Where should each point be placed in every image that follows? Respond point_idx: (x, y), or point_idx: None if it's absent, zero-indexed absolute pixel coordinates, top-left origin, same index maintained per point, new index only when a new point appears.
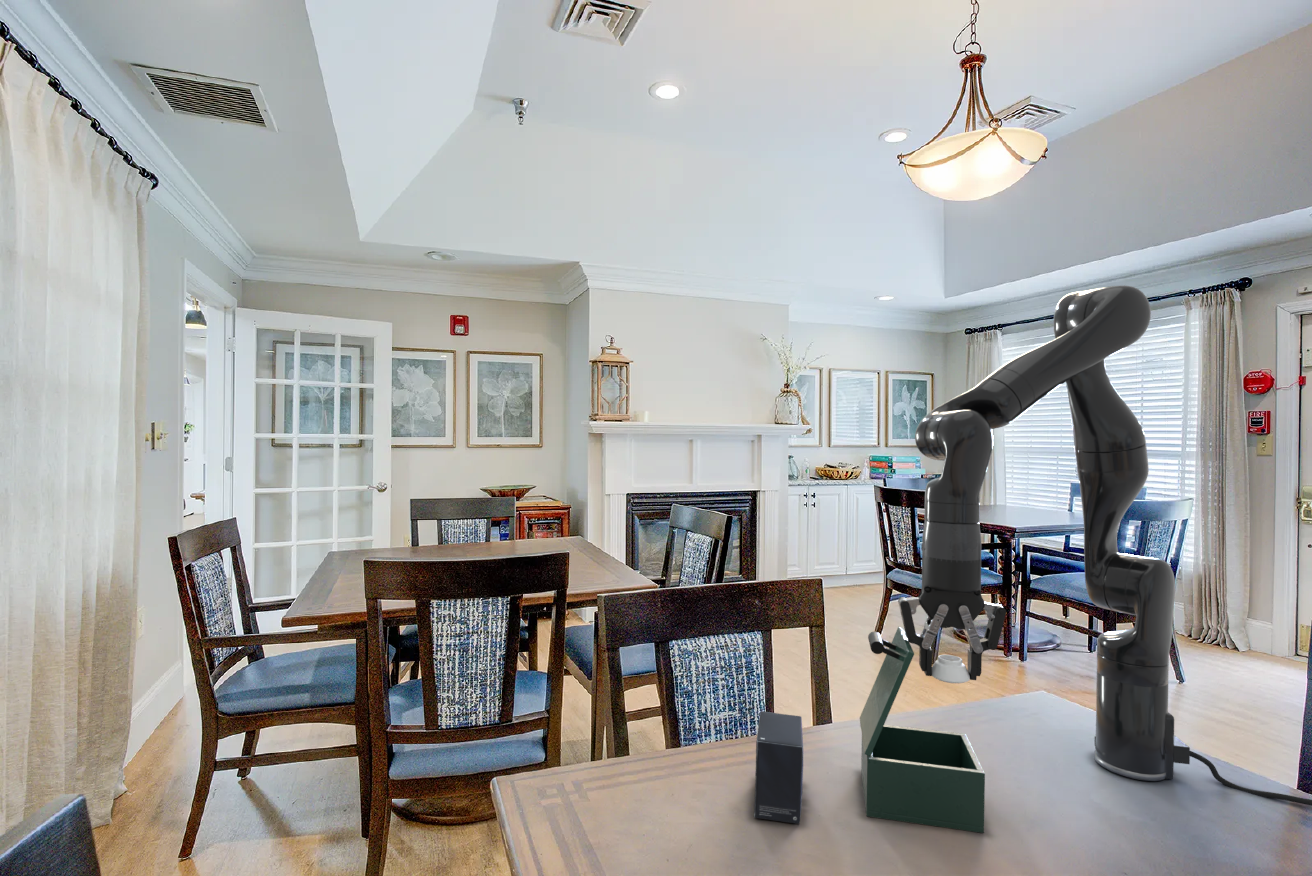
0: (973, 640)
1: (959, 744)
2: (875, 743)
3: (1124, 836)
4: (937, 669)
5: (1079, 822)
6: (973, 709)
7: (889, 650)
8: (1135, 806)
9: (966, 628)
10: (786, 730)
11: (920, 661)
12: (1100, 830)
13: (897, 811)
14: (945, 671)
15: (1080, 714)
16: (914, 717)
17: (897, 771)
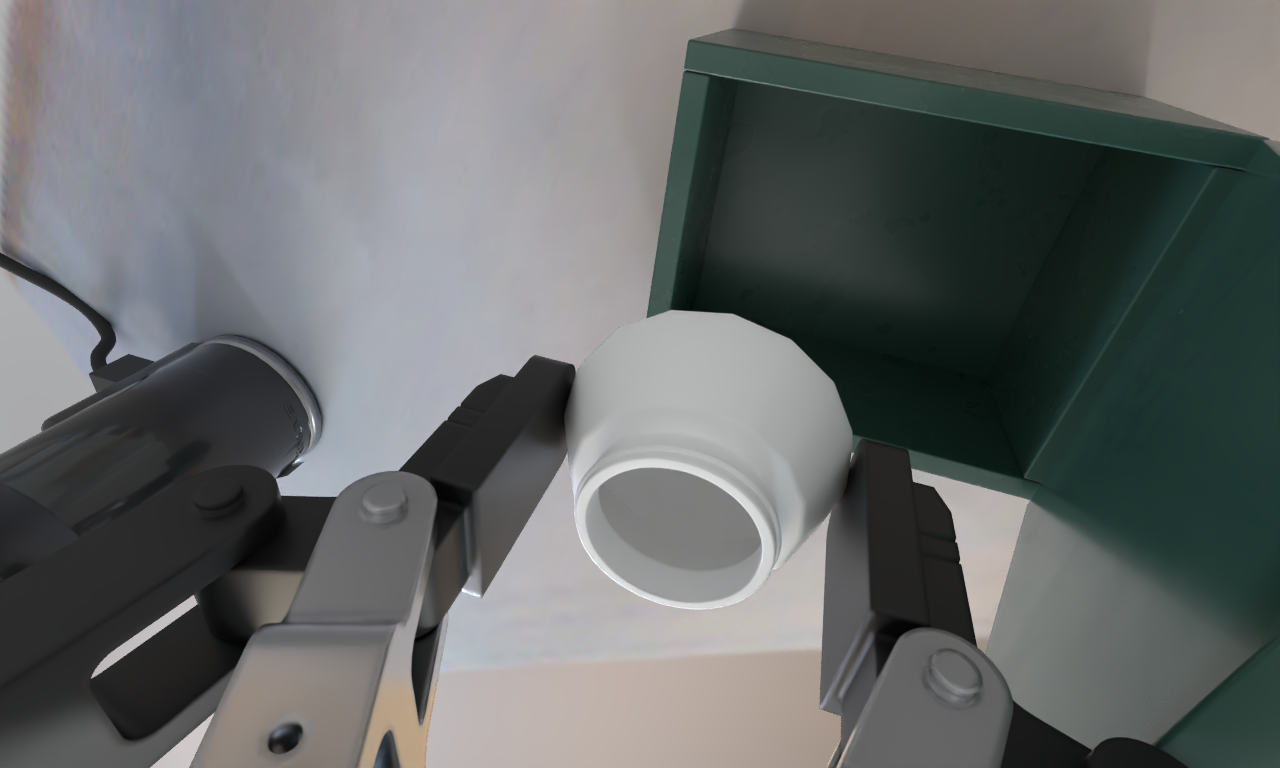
0: (373, 592)
1: None
2: (1277, 149)
3: (338, 70)
4: (818, 455)
5: (428, 134)
6: (519, 646)
7: None
8: (284, 227)
9: (345, 759)
10: None
11: (950, 561)
12: (387, 96)
13: (1034, 81)
14: (773, 399)
15: None
16: (675, 638)
17: (1086, 103)
